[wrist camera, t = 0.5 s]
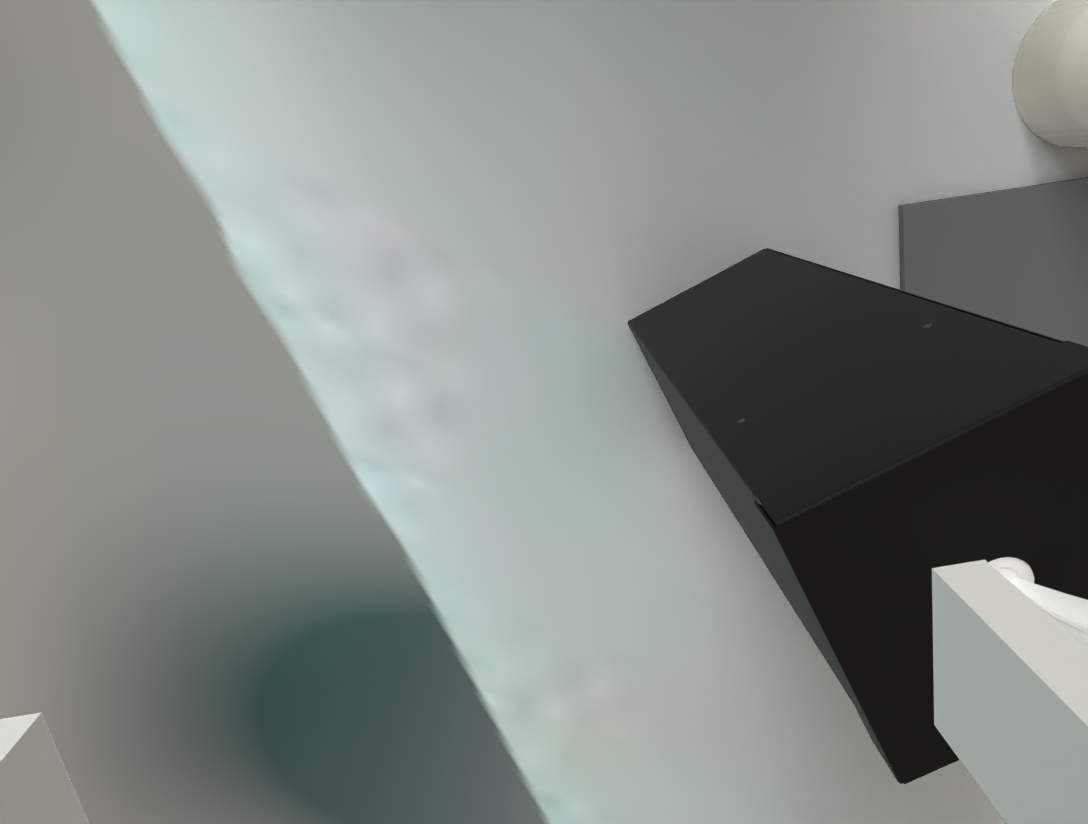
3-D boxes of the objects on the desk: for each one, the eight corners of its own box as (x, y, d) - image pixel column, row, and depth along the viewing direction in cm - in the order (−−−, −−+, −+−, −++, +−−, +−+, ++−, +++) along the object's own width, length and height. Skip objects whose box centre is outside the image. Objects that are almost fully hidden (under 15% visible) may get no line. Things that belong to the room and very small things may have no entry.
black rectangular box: (826, 380, 42) (1359, 742, 16) (690, 449, 43) (975, 906, 16) (765, 245, 40) (1261, 395, 14) (624, 320, 41) (826, 603, 14)
